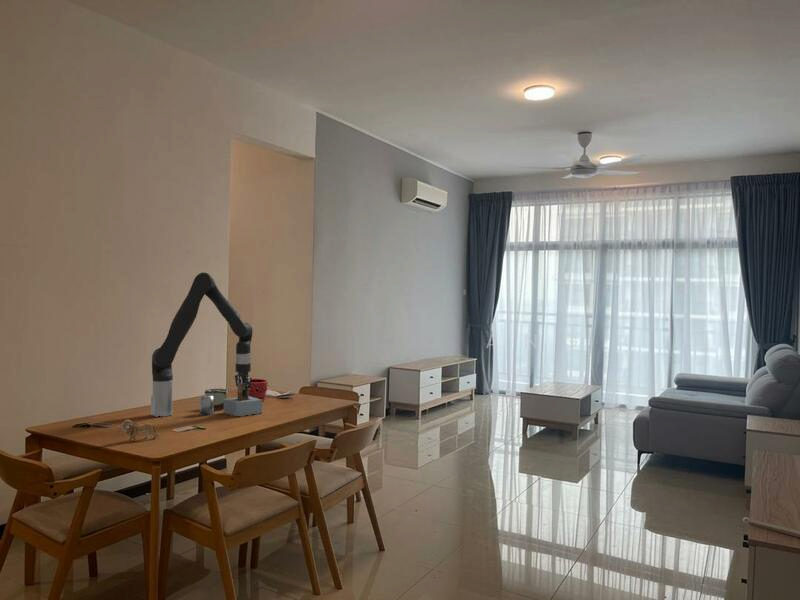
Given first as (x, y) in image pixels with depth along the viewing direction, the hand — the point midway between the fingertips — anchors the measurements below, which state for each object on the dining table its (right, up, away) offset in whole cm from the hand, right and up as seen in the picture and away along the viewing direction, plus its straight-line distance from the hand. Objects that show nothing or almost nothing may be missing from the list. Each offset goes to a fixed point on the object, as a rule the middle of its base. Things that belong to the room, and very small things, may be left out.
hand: (242, 396), depth 304 cm
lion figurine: (-27, -9, -58) cm, 65 cm away
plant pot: (-2, -9, +33) cm, 35 cm away
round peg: (-17, -9, -3) cm, 20 cm away
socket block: (0, -9, 0) cm, 9 cm away
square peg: (0, -2, 0) cm, 2 cm away
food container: (-16, -9, +12) cm, 22 cm away
